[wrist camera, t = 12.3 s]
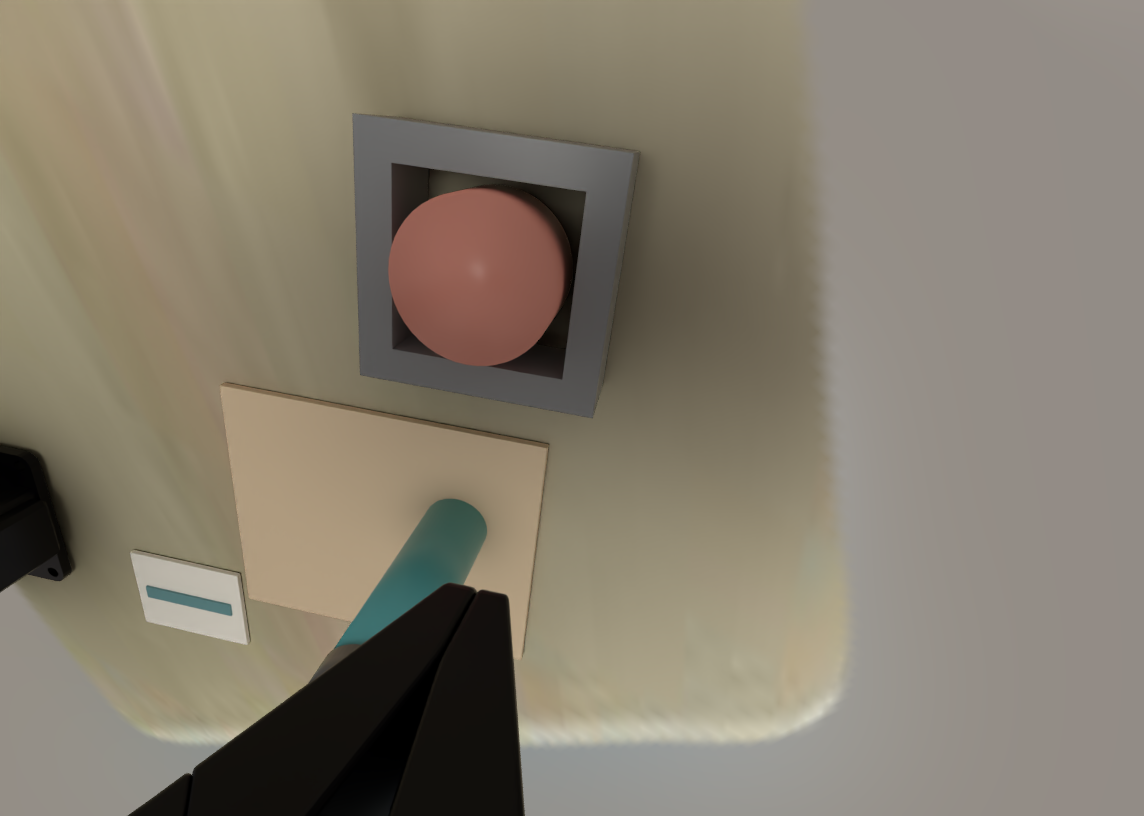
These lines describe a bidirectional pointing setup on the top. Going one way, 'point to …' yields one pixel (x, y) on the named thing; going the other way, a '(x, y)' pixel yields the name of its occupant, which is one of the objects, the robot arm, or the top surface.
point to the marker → (417, 571)
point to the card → (191, 596)
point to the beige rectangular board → (370, 499)
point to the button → (480, 273)
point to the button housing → (410, 147)
